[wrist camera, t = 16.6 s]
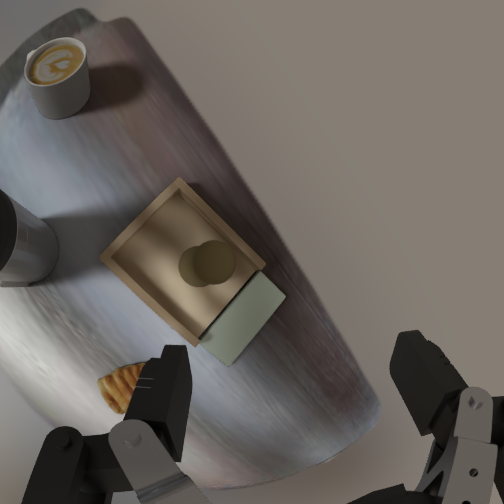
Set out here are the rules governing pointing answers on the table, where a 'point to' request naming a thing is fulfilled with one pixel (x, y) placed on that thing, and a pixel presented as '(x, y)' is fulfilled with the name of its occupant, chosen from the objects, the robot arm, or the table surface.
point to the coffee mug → (58, 77)
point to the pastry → (120, 386)
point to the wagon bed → (177, 260)
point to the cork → (207, 264)
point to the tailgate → (242, 319)
